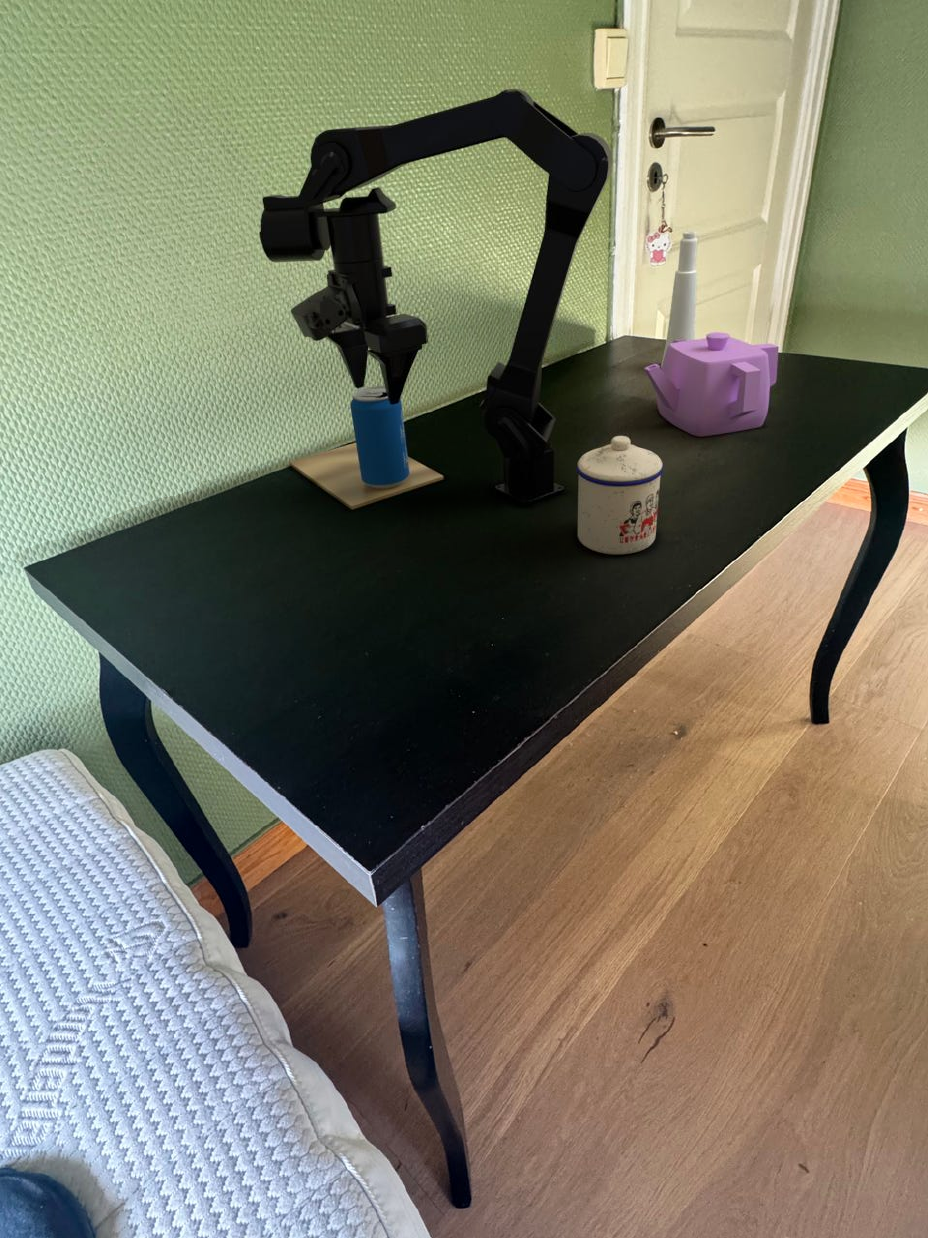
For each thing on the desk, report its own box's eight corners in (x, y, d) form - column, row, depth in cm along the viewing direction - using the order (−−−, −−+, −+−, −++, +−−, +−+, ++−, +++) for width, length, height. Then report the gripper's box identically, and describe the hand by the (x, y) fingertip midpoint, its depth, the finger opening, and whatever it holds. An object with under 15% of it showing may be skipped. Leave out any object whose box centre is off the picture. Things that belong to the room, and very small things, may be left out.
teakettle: (753, 444, 106) (766, 353, 99) (635, 430, 113) (640, 344, 106) (778, 406, 118) (792, 322, 111) (670, 395, 125) (676, 316, 118)
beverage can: (402, 491, 99) (391, 400, 93) (355, 490, 101) (341, 400, 94) (415, 471, 104) (405, 384, 98) (370, 470, 106) (358, 384, 99)
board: (443, 479, 103) (443, 475, 103) (351, 509, 97) (351, 506, 97) (373, 440, 117) (373, 437, 117) (289, 465, 111) (288, 461, 111)
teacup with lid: (629, 565, 81) (635, 461, 74) (559, 542, 86) (559, 443, 80) (685, 523, 88) (695, 424, 81) (617, 504, 93) (622, 410, 87)
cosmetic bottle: (701, 365, 138) (716, 230, 125) (682, 374, 134) (695, 235, 122) (673, 360, 141) (684, 228, 129) (653, 368, 138) (663, 233, 126)
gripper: (261, 262, 90) (287, 393, 98) (329, 279, 76) (352, 430, 85) (345, 248, 94) (363, 375, 103) (423, 262, 81) (436, 406, 90)
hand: (376, 395), depth 95 cm, fingers open, 9 cm apart
